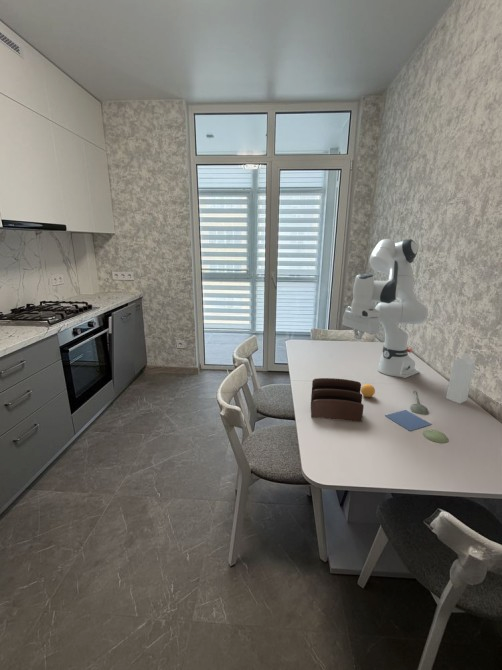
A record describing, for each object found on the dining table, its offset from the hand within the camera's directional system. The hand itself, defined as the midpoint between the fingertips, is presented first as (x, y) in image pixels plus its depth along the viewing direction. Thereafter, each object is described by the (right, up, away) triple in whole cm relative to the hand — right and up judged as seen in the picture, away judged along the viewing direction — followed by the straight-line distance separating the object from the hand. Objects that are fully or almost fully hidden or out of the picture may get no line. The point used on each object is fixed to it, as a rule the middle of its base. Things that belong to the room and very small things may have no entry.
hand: (357, 338), depth 145 cm
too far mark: (+17, -35, -32) cm, 51 cm away
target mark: (+13, -32, -21) cm, 41 cm away
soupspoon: (+24, -29, -7) cm, 39 cm away
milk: (+44, -28, -4) cm, 52 cm away
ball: (+4, -24, -3) cm, 24 cm away
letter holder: (-15, -31, -17) cm, 39 cm away
